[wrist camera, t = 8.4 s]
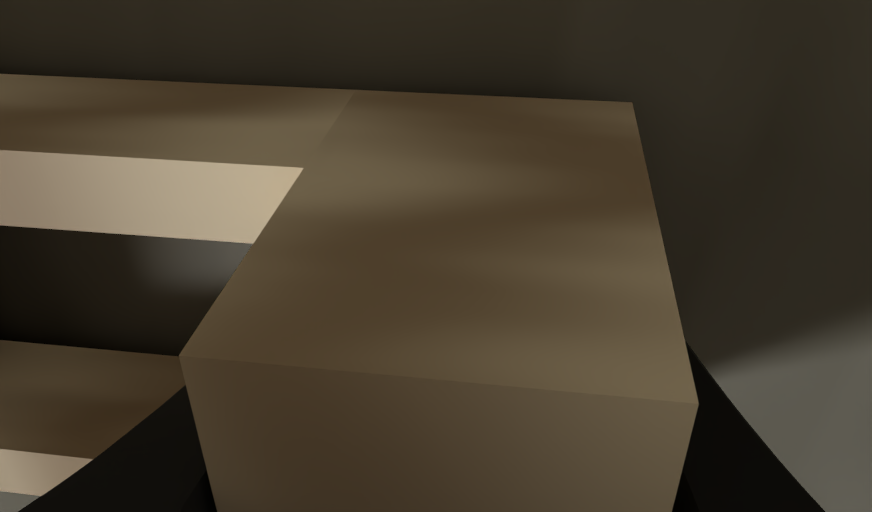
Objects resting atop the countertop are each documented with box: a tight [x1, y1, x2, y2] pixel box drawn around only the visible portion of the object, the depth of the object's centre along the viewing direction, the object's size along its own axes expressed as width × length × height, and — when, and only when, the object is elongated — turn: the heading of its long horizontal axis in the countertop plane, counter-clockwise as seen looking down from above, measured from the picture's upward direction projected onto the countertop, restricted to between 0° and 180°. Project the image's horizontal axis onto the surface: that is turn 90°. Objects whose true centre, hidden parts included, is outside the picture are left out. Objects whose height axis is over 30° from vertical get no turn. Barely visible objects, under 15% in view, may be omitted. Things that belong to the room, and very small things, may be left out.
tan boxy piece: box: [0, 74, 699, 512], centre depth 10 cm, size 12×9×6 cm
